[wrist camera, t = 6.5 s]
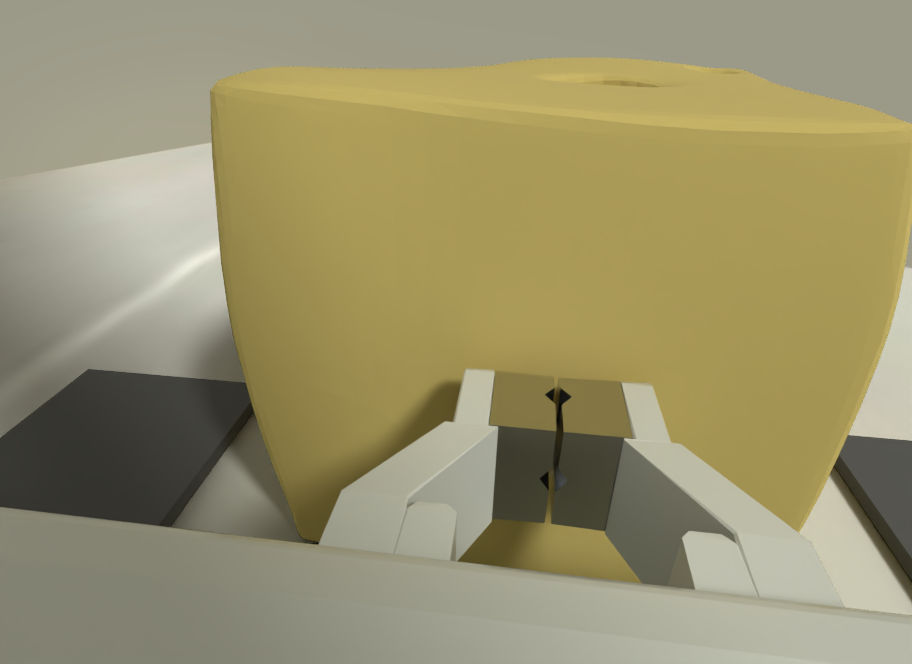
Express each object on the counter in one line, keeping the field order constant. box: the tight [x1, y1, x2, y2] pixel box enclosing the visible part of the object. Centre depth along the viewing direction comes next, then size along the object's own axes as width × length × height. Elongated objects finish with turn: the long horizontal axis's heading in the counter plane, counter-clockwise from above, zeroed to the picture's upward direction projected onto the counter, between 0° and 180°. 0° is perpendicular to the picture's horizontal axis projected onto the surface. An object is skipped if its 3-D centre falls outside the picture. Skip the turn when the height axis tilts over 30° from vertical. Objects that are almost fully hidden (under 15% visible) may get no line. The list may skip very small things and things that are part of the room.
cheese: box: [210, 58, 912, 583], centre depth 14 cm, size 10×11×10 cm
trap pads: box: [0, 369, 912, 581], centre depth 15 cm, size 29×7×1 cm, turn 83°
